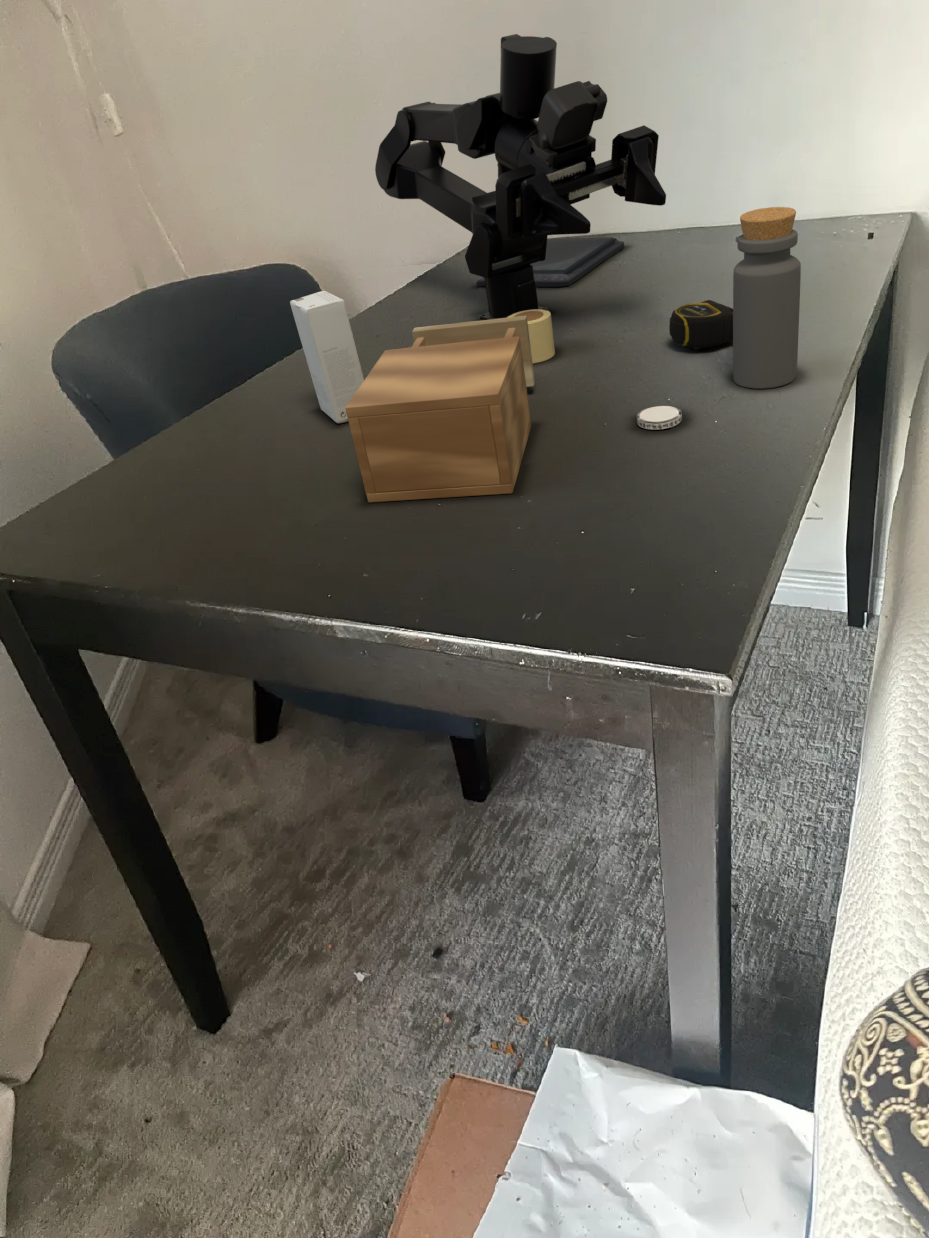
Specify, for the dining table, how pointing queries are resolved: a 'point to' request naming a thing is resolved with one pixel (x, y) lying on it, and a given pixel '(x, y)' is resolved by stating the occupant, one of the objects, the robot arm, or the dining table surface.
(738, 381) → the bottle
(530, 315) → the tape roll
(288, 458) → the dining table surface
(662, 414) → the cream flat disc
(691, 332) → the tape measure
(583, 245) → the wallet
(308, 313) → the cosmetic box
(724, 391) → the dining table surface
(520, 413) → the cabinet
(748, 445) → the dining table surface
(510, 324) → the drawer
